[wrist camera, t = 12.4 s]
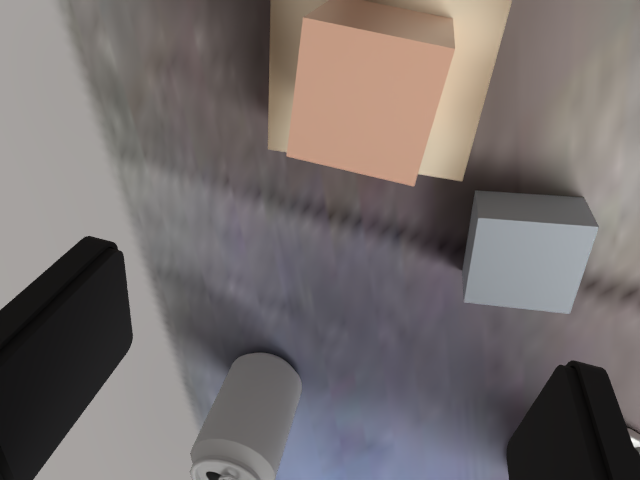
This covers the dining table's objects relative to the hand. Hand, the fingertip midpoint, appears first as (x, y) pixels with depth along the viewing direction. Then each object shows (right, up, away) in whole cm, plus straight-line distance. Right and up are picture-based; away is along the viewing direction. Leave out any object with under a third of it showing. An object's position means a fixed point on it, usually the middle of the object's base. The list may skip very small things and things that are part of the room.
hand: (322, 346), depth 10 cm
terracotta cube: (+3, +12, +16) cm, 20 cm away
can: (-5, -11, +39) cm, 41 cm away
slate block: (+14, +3, +25) cm, 29 cm away
